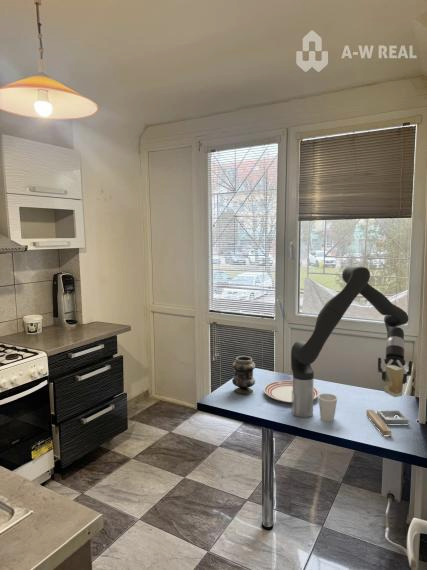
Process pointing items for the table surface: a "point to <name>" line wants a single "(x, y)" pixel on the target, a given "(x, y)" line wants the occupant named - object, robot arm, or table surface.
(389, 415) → the tray
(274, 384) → the dinner plate
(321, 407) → the dixie cup
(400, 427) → the table surface
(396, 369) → the skincare box
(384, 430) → the sill
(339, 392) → the table surface
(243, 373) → the dark carved vase
